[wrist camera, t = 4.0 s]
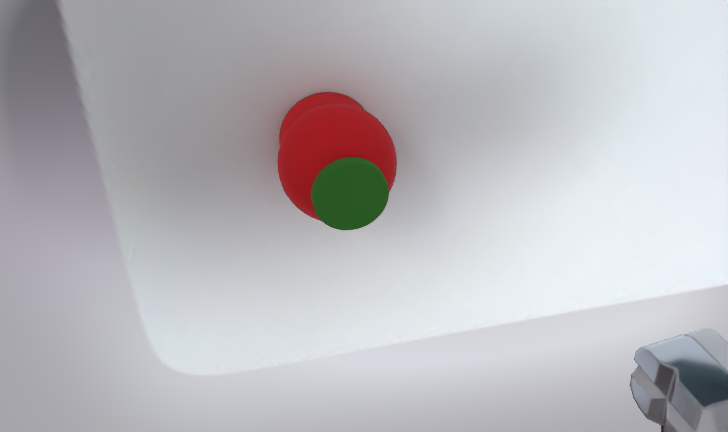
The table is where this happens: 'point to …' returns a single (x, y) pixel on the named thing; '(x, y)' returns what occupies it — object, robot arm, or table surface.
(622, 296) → the table surface
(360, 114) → the strawberry
